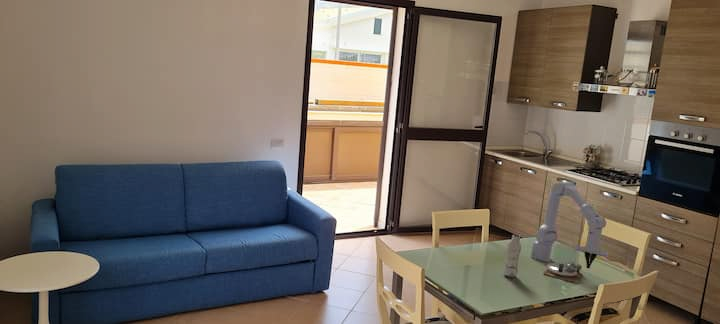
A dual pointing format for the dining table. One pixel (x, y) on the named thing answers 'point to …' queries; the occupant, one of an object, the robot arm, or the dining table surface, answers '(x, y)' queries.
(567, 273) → the turntable
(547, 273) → the base board
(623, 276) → the dining table surface
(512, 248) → the plastic bottle
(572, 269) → the cover
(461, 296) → the dining table surface
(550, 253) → the robot arm
